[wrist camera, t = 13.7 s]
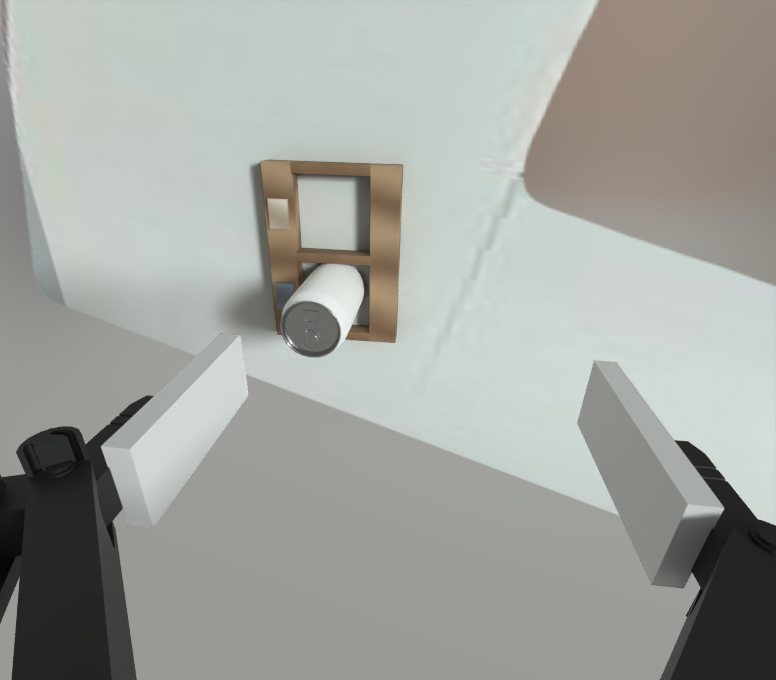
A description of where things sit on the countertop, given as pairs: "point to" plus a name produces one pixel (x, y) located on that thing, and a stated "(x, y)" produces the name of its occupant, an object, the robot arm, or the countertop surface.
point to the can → (322, 310)
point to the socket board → (290, 255)
